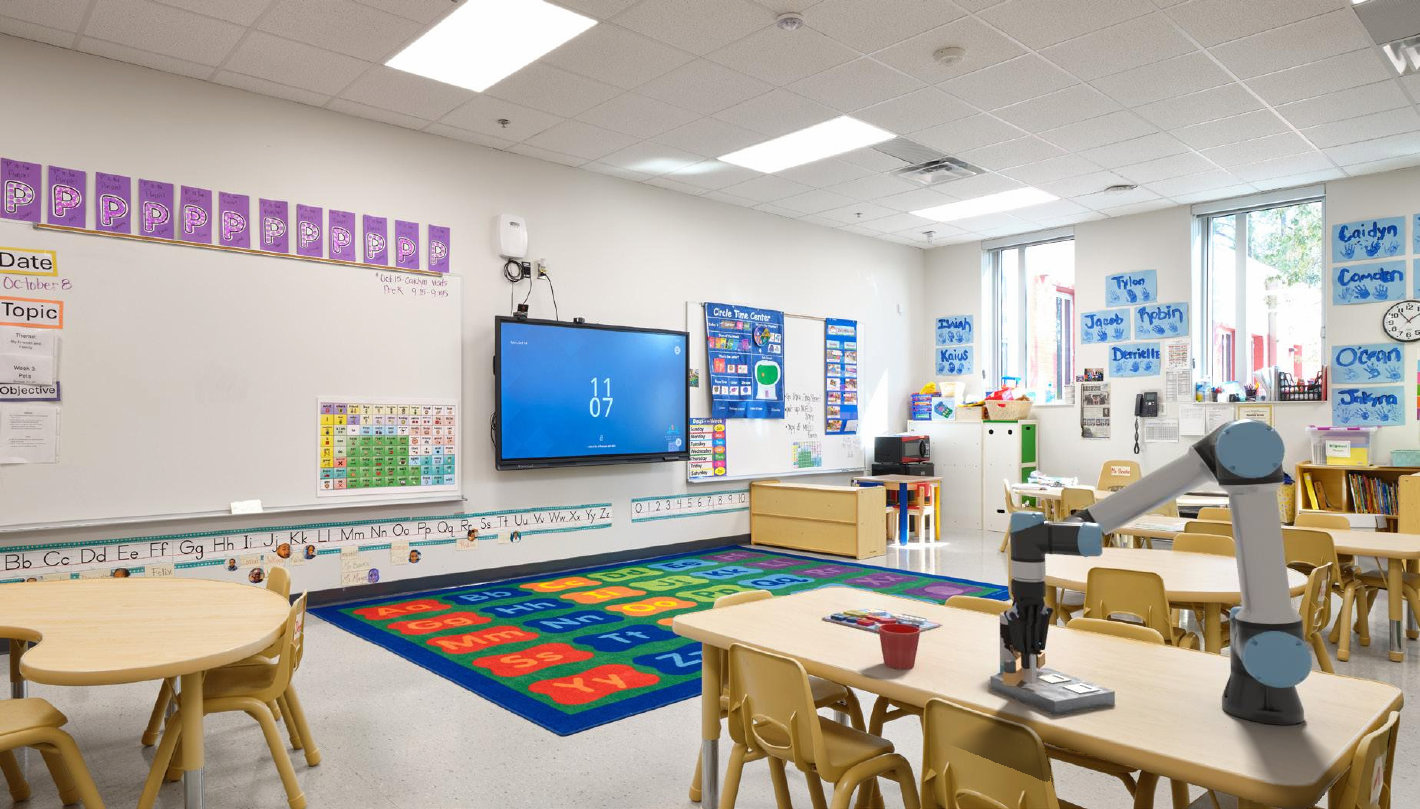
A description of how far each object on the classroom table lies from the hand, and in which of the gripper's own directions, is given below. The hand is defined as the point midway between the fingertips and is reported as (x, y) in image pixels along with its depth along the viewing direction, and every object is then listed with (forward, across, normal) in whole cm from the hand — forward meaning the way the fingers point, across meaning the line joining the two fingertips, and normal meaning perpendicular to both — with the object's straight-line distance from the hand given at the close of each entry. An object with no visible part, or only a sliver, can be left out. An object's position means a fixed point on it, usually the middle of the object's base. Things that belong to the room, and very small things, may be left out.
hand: (1029, 682), depth 192 cm
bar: (0, -2, -5) cm, 6 cm away
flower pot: (+4, +10, -36) cm, 37 cm away
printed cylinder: (+4, -12, -18) cm, 22 cm away
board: (+4, -7, -1) cm, 8 cm away
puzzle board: (+5, -13, -77) cm, 78 cm away
